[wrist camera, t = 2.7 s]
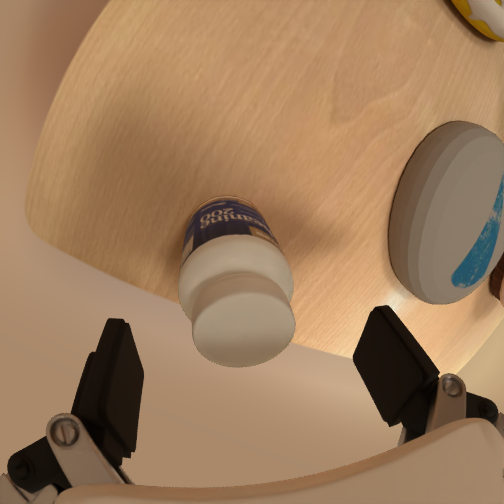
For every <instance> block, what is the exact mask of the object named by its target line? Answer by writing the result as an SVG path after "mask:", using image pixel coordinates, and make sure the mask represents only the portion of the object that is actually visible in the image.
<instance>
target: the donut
mask: <svg viewBox="0 0 504 504" xmlns="http://www.w3.org/2000/svg"><path fill="white" fill-rule="evenodd" d="M451 2H452V3H453V4H454V5H455V7H456V8H457V9H458V11H459V12H460V13H461V14H462V15H463V17H464V18H465V19H466V20H467V21H468V22H469V23H470V24H471V25H472V26H474V27H475V28H476V29H477V30H478V31H480V32H481V33H482V34H484V35H485V36H487V37H489V38H491V39H494V40H496V41H500V42H504V0H451Z"/></svg>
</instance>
